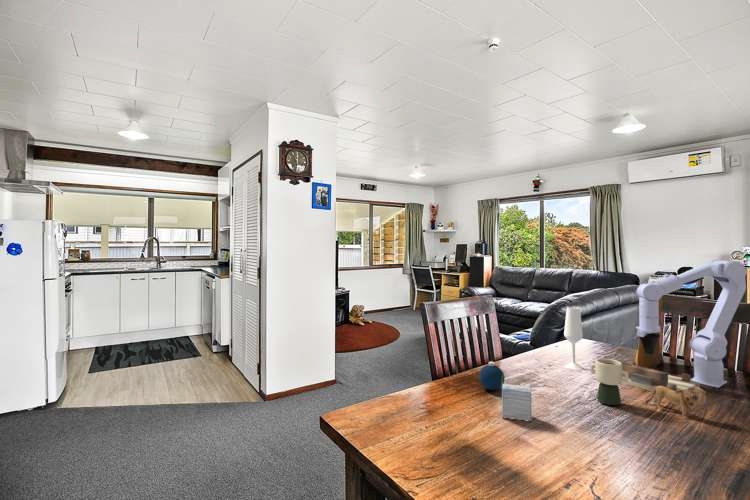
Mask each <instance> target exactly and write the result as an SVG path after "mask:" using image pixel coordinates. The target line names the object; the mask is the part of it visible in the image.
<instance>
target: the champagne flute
mask: <svg viewBox="0 0 750 500" xmlns="http://www.w3.org/2000/svg"><path fill="white" fill-rule="evenodd" d="M581 315H582V314H581V308H580V307H576V306H575V307H574V306H567V307H566V310H565V319H564V320H565V322H564V331H563V335H564V338H565V339H566V340H567V341H568V342H569V343H571V362H569V363H566V364H565V365H564V368H566V369H568V370H575V371H581V370H583V366H581V365H579V364H578V363H576V344H577V343H578V342H580V341H581V340H582V339H583V337H584V335H583V326H582V316H581Z"/></svg>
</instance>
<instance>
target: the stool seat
mask: <svg viewBox="0 0 750 500" xmlns="http://www.w3.org/2000/svg"><path fill="white" fill-rule="evenodd" d="M628 364H631V365H636V362H635V361H632V360H630V361H628ZM691 376H692V375H690V374H688V373H681V377H679V376H675V375H670V374H668V384H667V386H665V387H666V388H668V389H670V390H673V391H679V390H682V389H688V388H691V387H699V388H700V383H699V382H696V381H692V380H691V379H692V377H691ZM622 378H624V379H625V376H622ZM621 384H625V385H628V386H632V387H636V388H640V389H643V390H647V391H651V392H653V390H654V388H655V387H657V386H659V385H656V384H653V378H652V377H648V376H644V375H640V374H636V373H632V374H631V378H629V377H628V382H623V381H622V383H621Z"/></svg>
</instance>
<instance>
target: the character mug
mask: <svg viewBox="0 0 750 500" xmlns="http://www.w3.org/2000/svg"><path fill="white" fill-rule="evenodd" d="M622 363H623V362H621V361H619V360H616V359H612V358H596V359H595V362H593V363H590V366H589V367H590V370H589V371H590V374H593V375H595V380H596V381H597V382H598V383H599V385H598V388H597V395H596V396H597V397H596V398H597V401H598V402H600V403H602V404H605V405H611V406H616V405H620V404H621V403H622V401H621V393H620V388H619V385H621V384H623V383H622V381H623V382H628V372H627V371H623V370H622ZM594 367H595V369H594ZM622 374H625V379H624V378H622Z"/></svg>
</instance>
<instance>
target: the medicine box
mask: <svg viewBox="0 0 750 500" xmlns="http://www.w3.org/2000/svg"><path fill="white" fill-rule="evenodd" d="M532 396H533V395H532V388H531V386H527V385H518V384H508V383H504V384H502V387H501V408H502V409H501V412H502V413H501V418H502V417H507V418H514V419H521V420H528V421H527V422H529V421H532V420H533V415H532V414H533V413H532V404H533V403H532V401H533V400H532V399H533V397H532ZM521 420H520V421H521ZM532 422H533V421H532Z"/></svg>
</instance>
